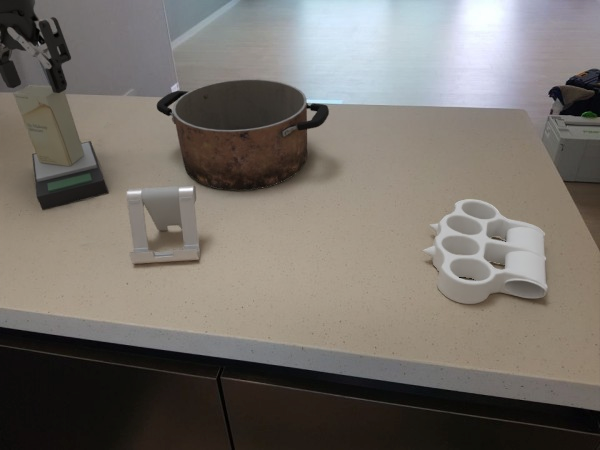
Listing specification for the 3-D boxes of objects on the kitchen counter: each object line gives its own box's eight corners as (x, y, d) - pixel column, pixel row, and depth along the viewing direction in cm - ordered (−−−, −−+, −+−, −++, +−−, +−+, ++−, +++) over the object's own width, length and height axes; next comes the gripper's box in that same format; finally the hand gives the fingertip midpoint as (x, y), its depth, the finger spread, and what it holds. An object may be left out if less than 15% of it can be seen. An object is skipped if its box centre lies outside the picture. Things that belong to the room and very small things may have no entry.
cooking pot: (340, 140, 88) (342, 86, 81) (308, 204, 71) (307, 141, 64) (200, 124, 95) (191, 73, 89) (140, 178, 78) (124, 120, 72)
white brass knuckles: (542, 324, 51) (410, 291, 55) (539, 230, 64) (433, 210, 68) (551, 303, 49) (414, 271, 53) (546, 211, 62) (436, 191, 66)
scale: (37, 166, 83) (30, 150, 81) (94, 152, 86) (89, 137, 84) (42, 210, 71) (35, 193, 69) (108, 192, 75) (103, 176, 73)
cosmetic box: (39, 163, 77) (9, 93, 70) (56, 151, 80) (30, 83, 73) (71, 167, 76) (45, 96, 68) (87, 154, 79) (63, 85, 72)
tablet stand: (133, 267, 60) (116, 215, 55) (145, 230, 66) (130, 181, 61) (198, 262, 60) (187, 211, 55) (204, 227, 67) (195, 178, 62)
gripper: (-74, -27, 59) (-19, 93, 69) (14, -24, 56) (59, 102, 66) (-27, -36, 65) (18, 77, 75) (56, -34, 62) (92, 84, 72)
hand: (37, 88), depth 70 cm, fingers open, 8 cm apart
